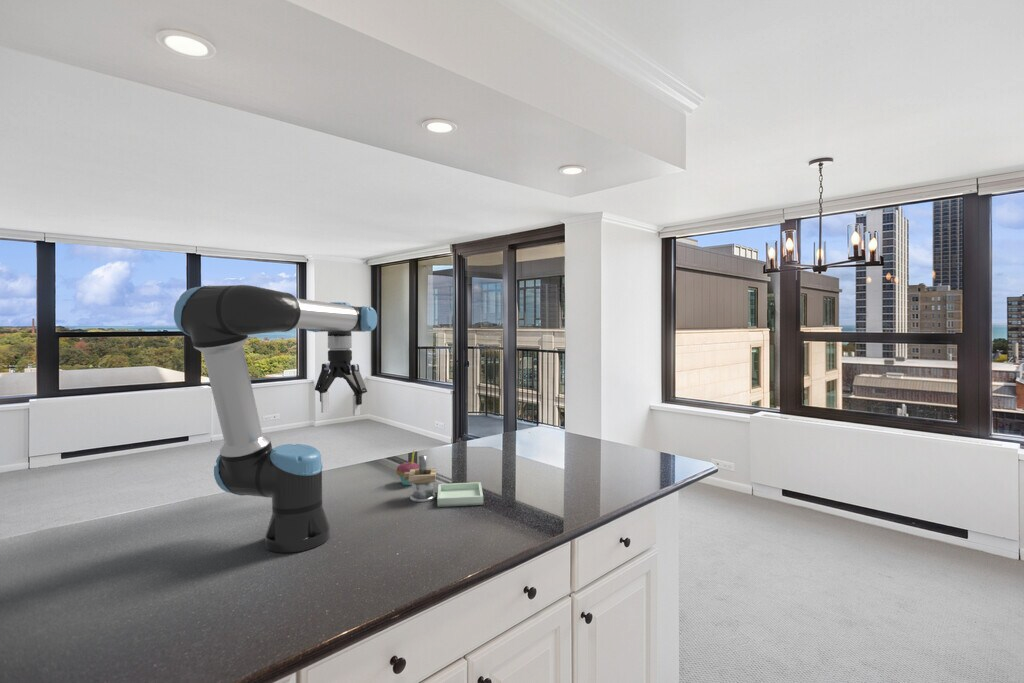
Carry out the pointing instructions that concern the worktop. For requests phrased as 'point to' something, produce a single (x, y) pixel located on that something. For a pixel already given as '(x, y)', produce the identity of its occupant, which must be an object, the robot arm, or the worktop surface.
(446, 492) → the tray
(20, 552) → the worktop surface
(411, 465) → the cupcake
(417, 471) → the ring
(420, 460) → the silver bell-shaped piece
